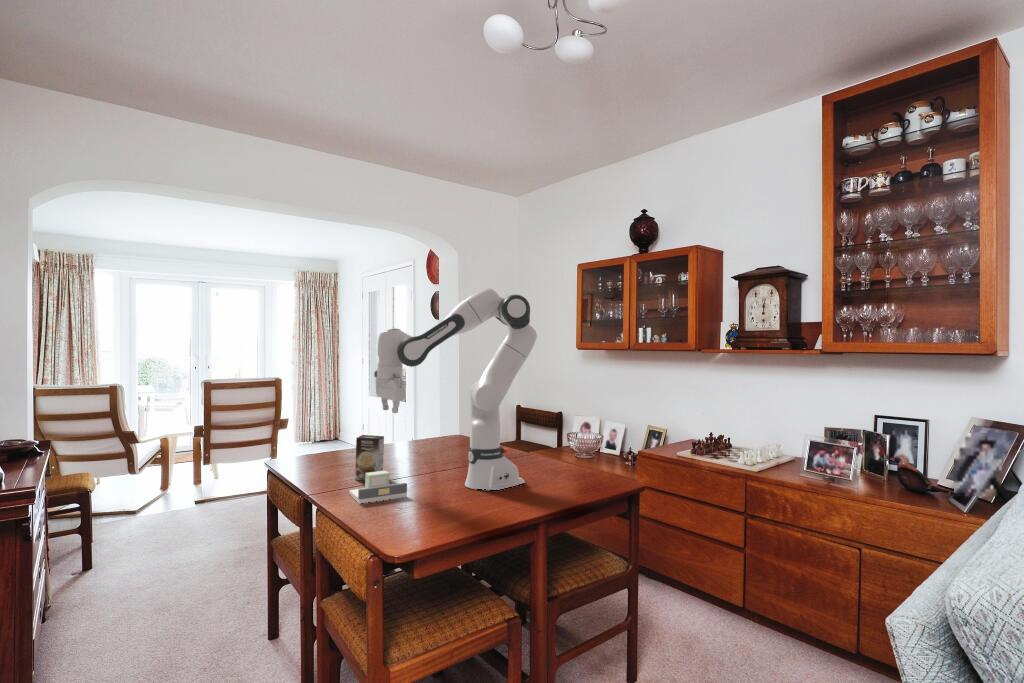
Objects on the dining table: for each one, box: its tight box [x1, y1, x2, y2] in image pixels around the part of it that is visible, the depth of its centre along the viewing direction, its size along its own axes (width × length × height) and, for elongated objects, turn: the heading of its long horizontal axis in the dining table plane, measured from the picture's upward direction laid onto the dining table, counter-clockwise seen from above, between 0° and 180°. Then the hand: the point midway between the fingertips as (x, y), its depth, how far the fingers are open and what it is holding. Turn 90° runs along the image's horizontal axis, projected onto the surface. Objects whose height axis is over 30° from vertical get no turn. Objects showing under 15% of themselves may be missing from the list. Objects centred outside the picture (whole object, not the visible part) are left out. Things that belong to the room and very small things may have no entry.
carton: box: [364, 470, 390, 488], centre depth 173 cm, size 4×7×6 cm, turn 123°
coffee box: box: [354, 434, 385, 481], centre depth 194 cm, size 9×6×16 cm
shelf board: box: [348, 482, 408, 505], centre depth 172 cm, size 16×12×4 cm
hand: (390, 411), depth 184 cm, fingers open, 8 cm apart
